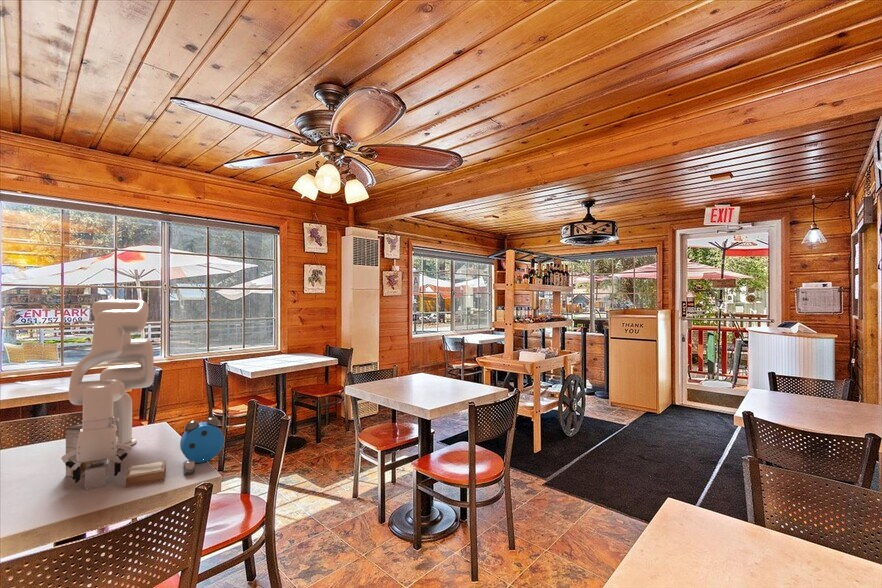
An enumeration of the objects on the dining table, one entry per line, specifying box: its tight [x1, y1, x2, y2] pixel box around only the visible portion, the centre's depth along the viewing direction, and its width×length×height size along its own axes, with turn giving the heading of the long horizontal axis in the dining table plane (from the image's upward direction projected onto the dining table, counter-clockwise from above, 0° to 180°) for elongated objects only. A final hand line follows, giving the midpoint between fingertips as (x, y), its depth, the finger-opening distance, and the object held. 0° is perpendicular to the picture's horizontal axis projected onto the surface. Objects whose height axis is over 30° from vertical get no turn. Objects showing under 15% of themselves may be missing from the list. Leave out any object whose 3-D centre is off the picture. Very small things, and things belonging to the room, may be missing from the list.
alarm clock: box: [179, 416, 225, 464], centre depth 152 cm, size 13×6×15 cm, turn 131°
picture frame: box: [124, 460, 167, 488], centre depth 137 cm, size 10×10×3 cm
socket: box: [183, 459, 196, 477], centre depth 141 cm, size 3×3×4 cm
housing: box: [84, 459, 110, 491], centre depth 133 cm, size 5×7×6 cm
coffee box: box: [65, 422, 108, 478], centre depth 143 cm, size 9×6×16 cm
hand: (97, 477), depth 133 cm, fingers open, 9 cm apart
